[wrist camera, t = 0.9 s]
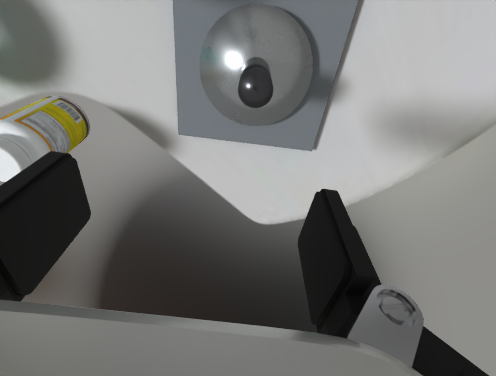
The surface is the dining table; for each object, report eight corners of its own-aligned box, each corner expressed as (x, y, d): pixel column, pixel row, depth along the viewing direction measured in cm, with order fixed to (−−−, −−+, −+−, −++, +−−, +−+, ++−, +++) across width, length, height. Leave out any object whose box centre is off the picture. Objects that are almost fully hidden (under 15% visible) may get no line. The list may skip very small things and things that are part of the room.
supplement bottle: (46, 133, 31) (-30, 182, 23) (36, 87, 28) (-57, 124, 19) (94, 145, 32) (38, 195, 23) (90, 101, 28) (22, 142, 20)
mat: (172, -49, 21) (170, -50, 20) (361, -18, 22) (364, -19, 21) (179, 132, 30) (178, 134, 30) (311, 148, 31) (312, 150, 31)
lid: (201, -6, 22) (183, -8, 16) (325, 13, 22) (348, 17, 17) (200, 116, 28) (187, 144, 23) (296, 128, 29) (305, 158, 24)
